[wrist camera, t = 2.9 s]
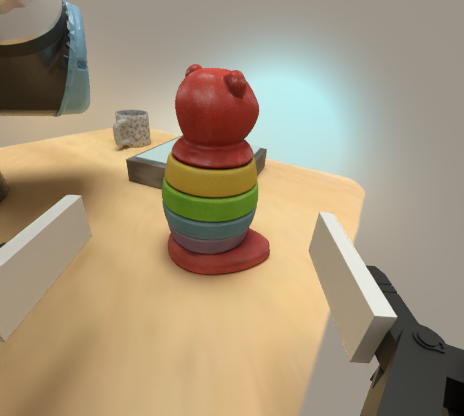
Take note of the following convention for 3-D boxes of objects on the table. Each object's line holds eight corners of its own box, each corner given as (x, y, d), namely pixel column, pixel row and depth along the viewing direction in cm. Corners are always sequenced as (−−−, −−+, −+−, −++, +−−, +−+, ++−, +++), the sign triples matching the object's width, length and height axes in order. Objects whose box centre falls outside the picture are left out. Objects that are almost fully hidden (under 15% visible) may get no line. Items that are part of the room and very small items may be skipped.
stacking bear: (277, 254, 28) (315, 74, 19) (199, 297, 23) (202, 70, 14) (219, 211, 35) (227, 64, 26) (149, 235, 30) (128, 58, 21)
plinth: (129, 180, 42) (125, 156, 40) (185, 150, 56) (185, 132, 54) (232, 206, 37) (234, 181, 35) (264, 166, 51) (267, 147, 49)
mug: (130, 137, 62) (126, 108, 59) (155, 141, 61) (153, 112, 57) (103, 149, 53) (97, 116, 50) (132, 154, 52) (127, 120, 49)
